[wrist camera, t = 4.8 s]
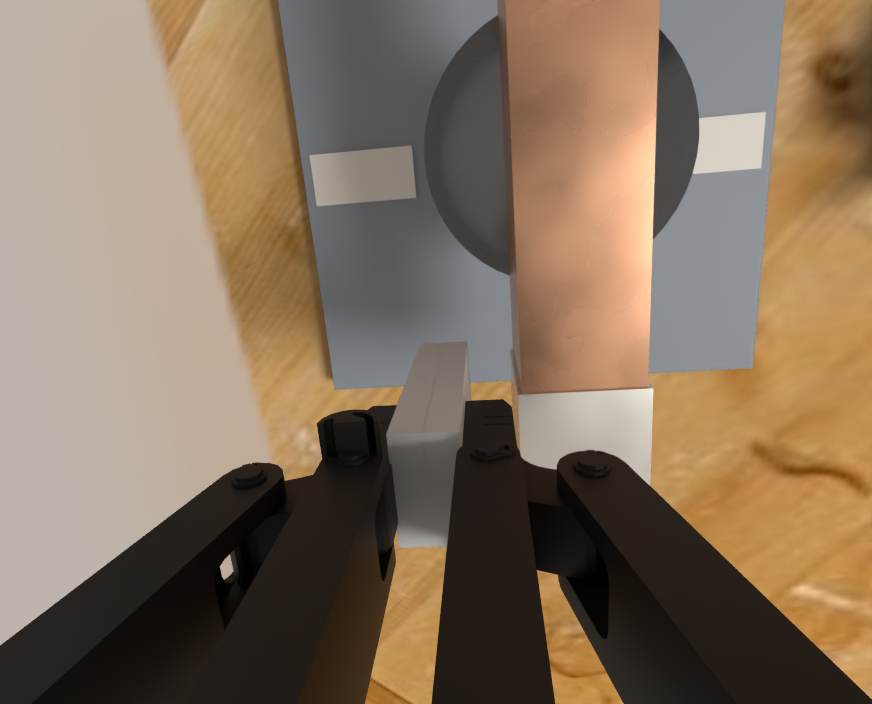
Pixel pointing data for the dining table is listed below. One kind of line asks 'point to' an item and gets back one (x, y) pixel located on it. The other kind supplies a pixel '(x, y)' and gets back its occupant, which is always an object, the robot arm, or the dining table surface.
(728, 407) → the dining table surface
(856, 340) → the dining table surface
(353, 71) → the striped base plate
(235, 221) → the dining table surface
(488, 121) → the t handle
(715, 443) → the dining table surface
